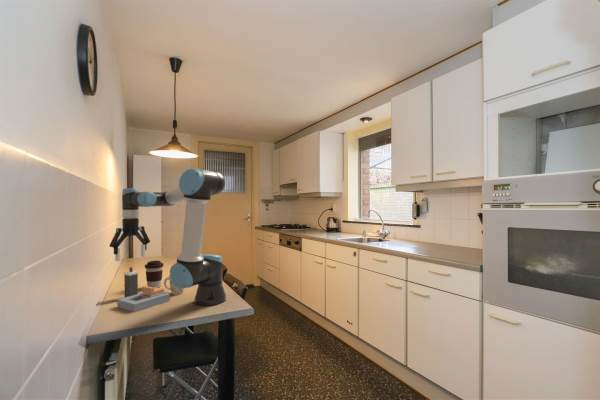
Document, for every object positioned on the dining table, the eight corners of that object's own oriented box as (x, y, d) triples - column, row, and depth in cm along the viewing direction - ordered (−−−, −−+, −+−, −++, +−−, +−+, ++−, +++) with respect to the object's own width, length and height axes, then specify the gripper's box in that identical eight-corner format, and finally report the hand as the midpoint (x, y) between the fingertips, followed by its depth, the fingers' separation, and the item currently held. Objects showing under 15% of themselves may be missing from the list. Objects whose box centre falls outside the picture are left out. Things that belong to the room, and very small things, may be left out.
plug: (138, 296, 162) (137, 267, 162) (129, 299, 158) (129, 268, 158) (132, 295, 164) (132, 266, 164) (124, 297, 160) (124, 267, 160)
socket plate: (169, 300, 155) (169, 292, 155) (134, 312, 139) (134, 302, 139) (152, 296, 162) (152, 288, 162) (117, 307, 146) (117, 297, 146)
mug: (179, 295, 163) (179, 276, 163) (158, 294, 165) (158, 276, 166) (188, 291, 171) (188, 273, 171) (168, 290, 174) (168, 272, 174)
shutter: (164, 292, 156) (164, 285, 156) (151, 296, 150) (151, 288, 150) (155, 290, 159) (155, 283, 159) (142, 294, 153) (142, 286, 153)
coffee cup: (166, 284, 185) (166, 259, 185) (159, 289, 175) (159, 263, 175) (149, 285, 185) (149, 260, 185) (141, 289, 175) (141, 263, 175)
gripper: (148, 216, 174) (148, 254, 174) (101, 219, 153) (101, 261, 152) (156, 216, 170) (156, 255, 170) (109, 219, 149) (110, 263, 149)
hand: (130, 258), depth 161 cm, fingers open, 13 cm apart
